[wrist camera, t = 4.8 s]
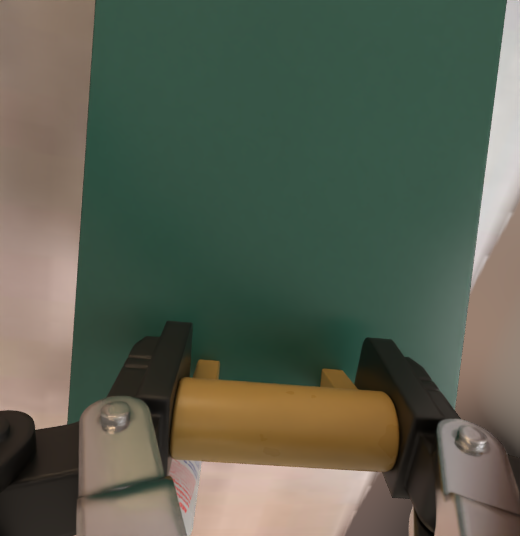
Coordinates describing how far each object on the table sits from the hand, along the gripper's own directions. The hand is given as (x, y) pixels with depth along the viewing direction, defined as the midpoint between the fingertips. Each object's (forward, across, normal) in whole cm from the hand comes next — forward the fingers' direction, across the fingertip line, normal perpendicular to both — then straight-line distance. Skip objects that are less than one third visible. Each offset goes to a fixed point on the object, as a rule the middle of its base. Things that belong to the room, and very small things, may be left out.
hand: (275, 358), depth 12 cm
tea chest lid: (+3, 0, -5) cm, 6 cm away
